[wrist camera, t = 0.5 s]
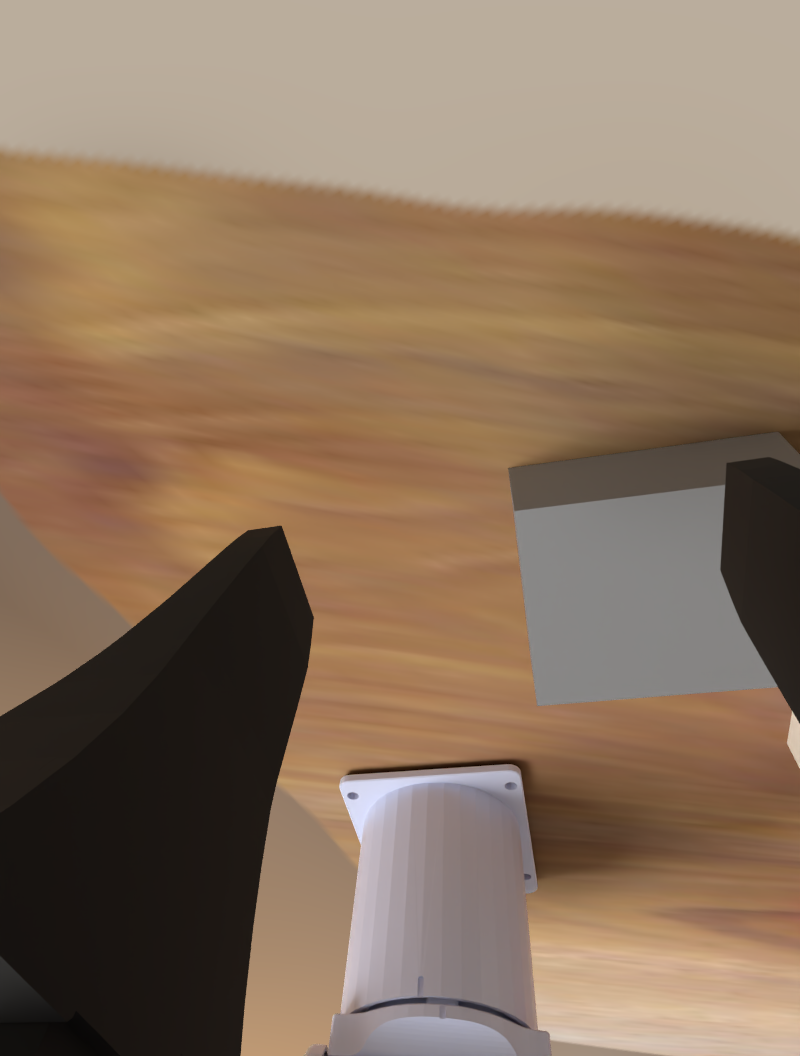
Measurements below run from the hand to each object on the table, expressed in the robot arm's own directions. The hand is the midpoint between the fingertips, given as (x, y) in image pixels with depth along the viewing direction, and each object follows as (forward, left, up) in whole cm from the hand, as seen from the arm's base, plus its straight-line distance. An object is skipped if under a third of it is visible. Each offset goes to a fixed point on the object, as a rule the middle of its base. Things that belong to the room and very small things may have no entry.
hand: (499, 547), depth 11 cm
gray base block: (-8, -4, -10) cm, 14 cm away
